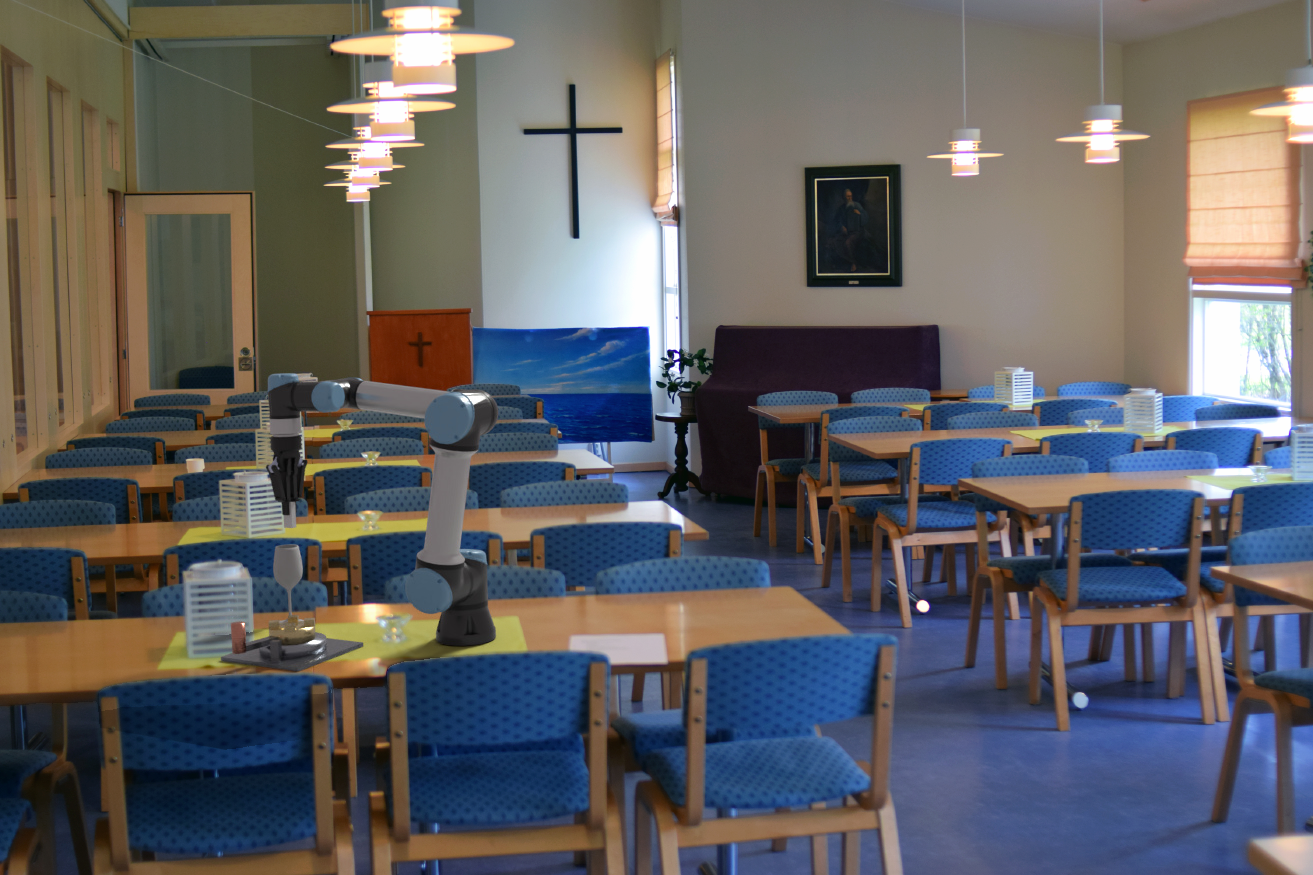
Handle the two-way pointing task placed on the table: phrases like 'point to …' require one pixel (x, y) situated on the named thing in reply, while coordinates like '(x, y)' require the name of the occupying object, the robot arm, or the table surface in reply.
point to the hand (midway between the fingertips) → (290, 527)
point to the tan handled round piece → (274, 634)
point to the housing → (294, 653)
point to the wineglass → (287, 569)
